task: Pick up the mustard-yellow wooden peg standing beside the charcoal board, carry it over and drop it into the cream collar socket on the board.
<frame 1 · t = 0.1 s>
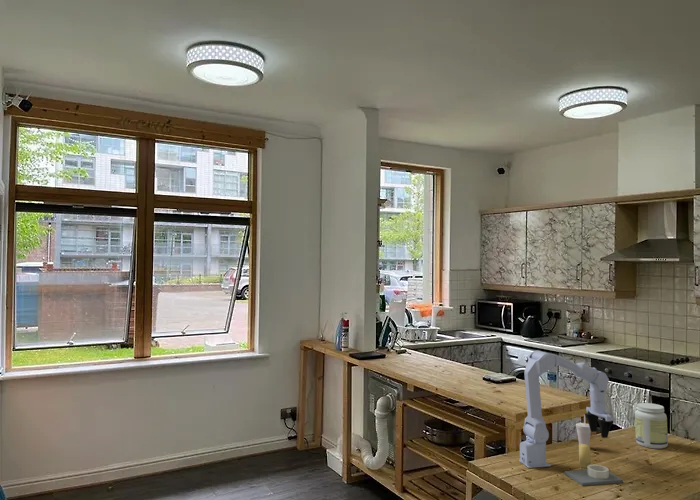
hand: (599, 434, 209), 10 cm above the table, tool pointing down, fingers open, 7 cm apart
peg: (584, 466, 202), on the table
smoothie: (584, 448, 224), on the table
supplement tub: (651, 445, 227), on the table
holder: (593, 478, 190), on the table
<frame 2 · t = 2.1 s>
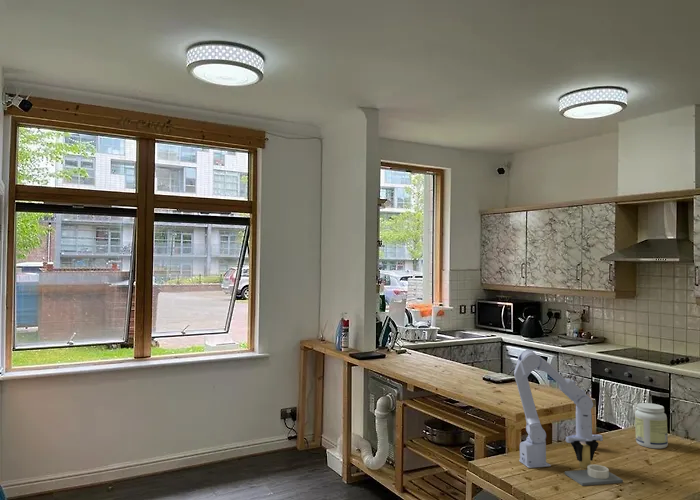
hand: (584, 460, 202), 2 cm above the table, tool pointing down, fingers closed on peg, 4 cm apart
peg: (584, 466, 202), on the table, touching gripper
everything else where it was.
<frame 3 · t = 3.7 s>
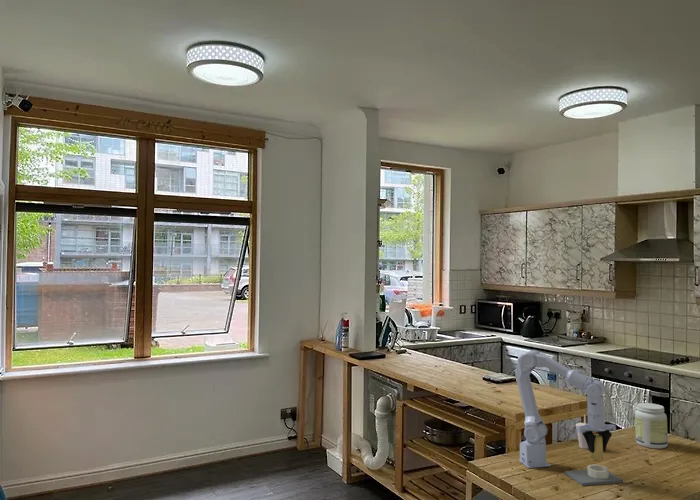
hand: (597, 451, 191), 9 cm above the table, tool pointing down, fingers closed on peg, 4 cm apart
peg: (597, 458, 191), point 7 cm above the table, touching gripper
everything else where it was.
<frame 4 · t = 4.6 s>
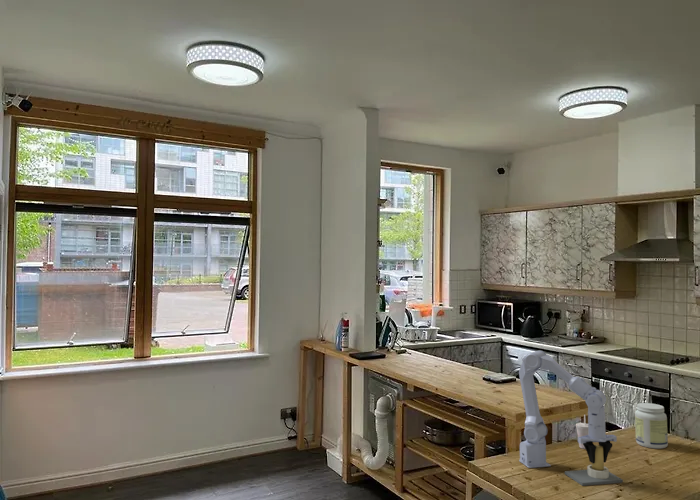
hand: (597, 461, 191), 6 cm above the table, tool pointing down, fingers closed on peg, 4 cm apart
peg: (597, 468, 191), point 3 cm above the table, touching gripper
everything else where it was.
when the fingers open (5 cm above the table, at t = 5.3 s): peg drops 1 cm, resting on holder.
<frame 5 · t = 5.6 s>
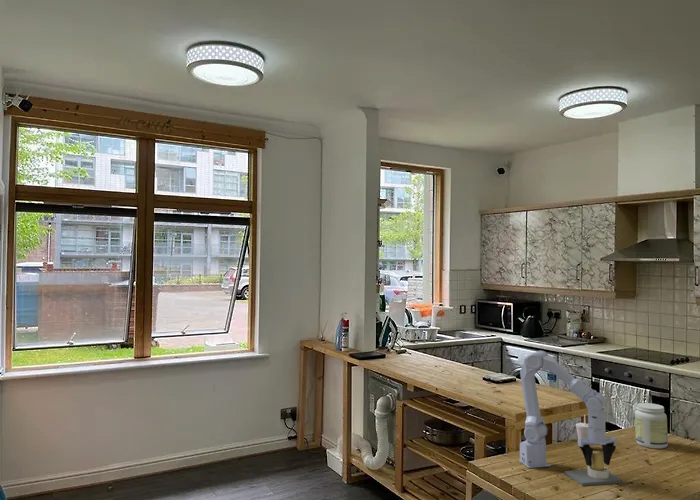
hand: (597, 464, 191), 5 cm above the table, tool pointing down, fingers open, 7 cm apart
peg: (598, 474, 191), point 1 cm above the table, touching holder
everything else where it was.
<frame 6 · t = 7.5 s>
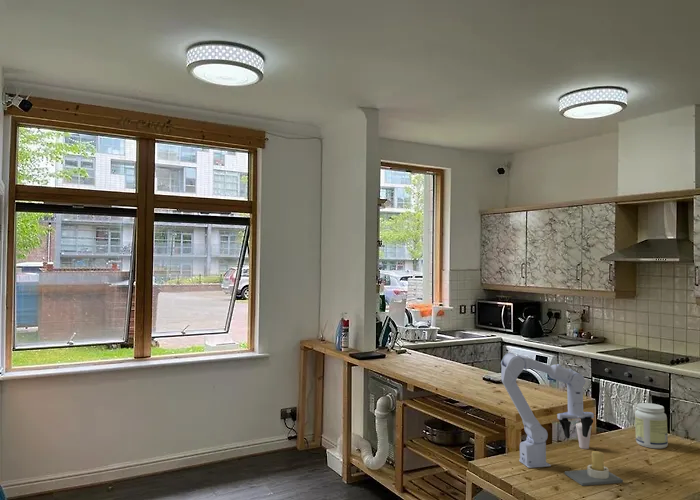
hand: (576, 436, 205), 10 cm above the table, tool pointing down, fingers open, 7 cm apart
nothing on the table moved.
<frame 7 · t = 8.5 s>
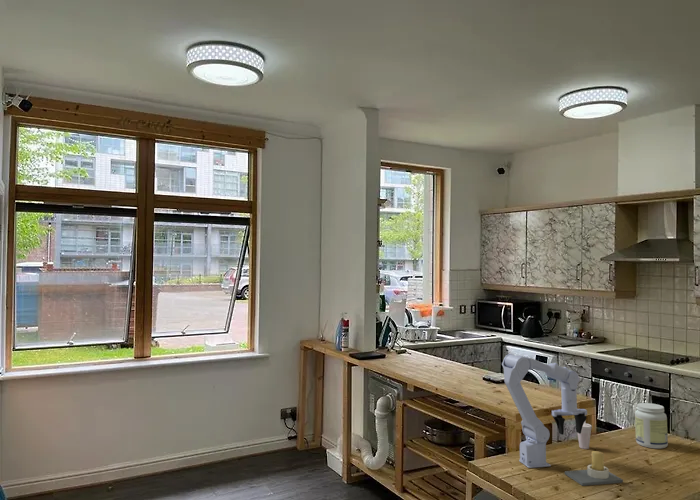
hand: (569, 433, 210), 10 cm above the table, tool pointing down, fingers open, 7 cm apart
nothing on the table moved.
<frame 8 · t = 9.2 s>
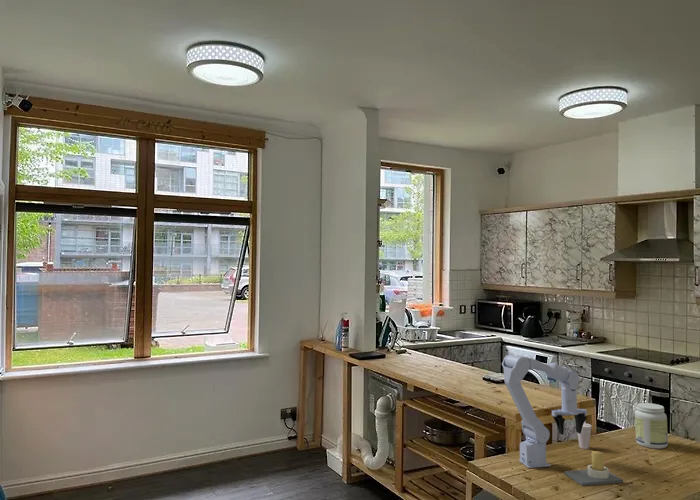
hand: (569, 433, 210), 10 cm above the table, tool pointing down, fingers open, 7 cm apart
nothing on the table moved.
at the end: peg 0.0 cm from the target spot on the holder, point 1.0 cm above the holder's base; peg tilted 0°; the gripper is holding nothing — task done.
